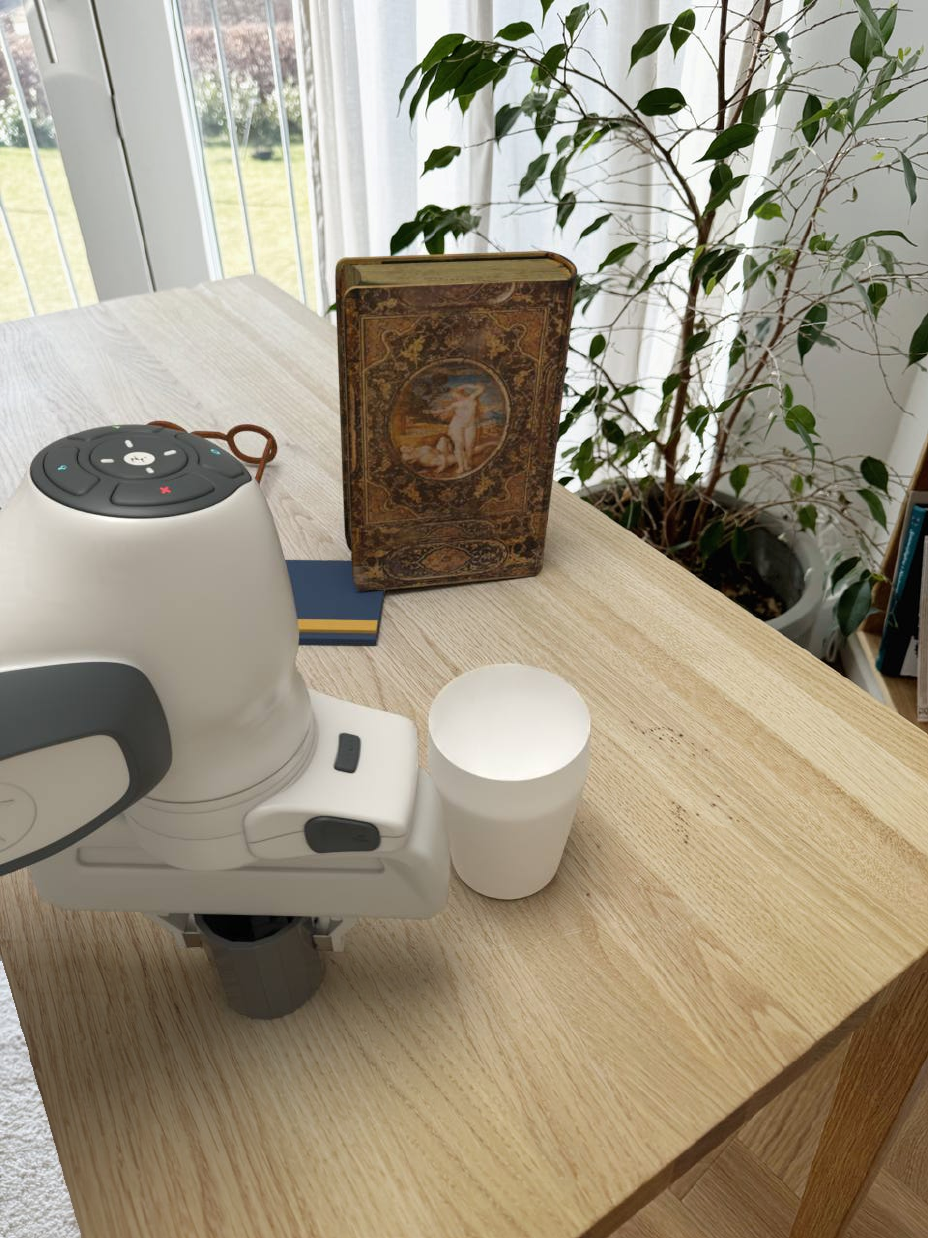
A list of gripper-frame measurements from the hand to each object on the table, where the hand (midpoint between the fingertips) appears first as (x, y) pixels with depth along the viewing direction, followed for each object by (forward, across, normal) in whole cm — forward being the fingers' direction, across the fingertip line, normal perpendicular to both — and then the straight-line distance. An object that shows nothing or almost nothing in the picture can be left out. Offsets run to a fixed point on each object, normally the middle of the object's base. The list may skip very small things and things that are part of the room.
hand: (265, 938), depth 52 cm
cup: (+3, +13, +8) cm, 16 cm away
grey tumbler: (+3, 0, 0) cm, 3 cm away
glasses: (+3, -16, +47) cm, 50 cm away
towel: (+3, -8, +32) cm, 33 cm away
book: (+3, +8, +37) cm, 38 cm away
